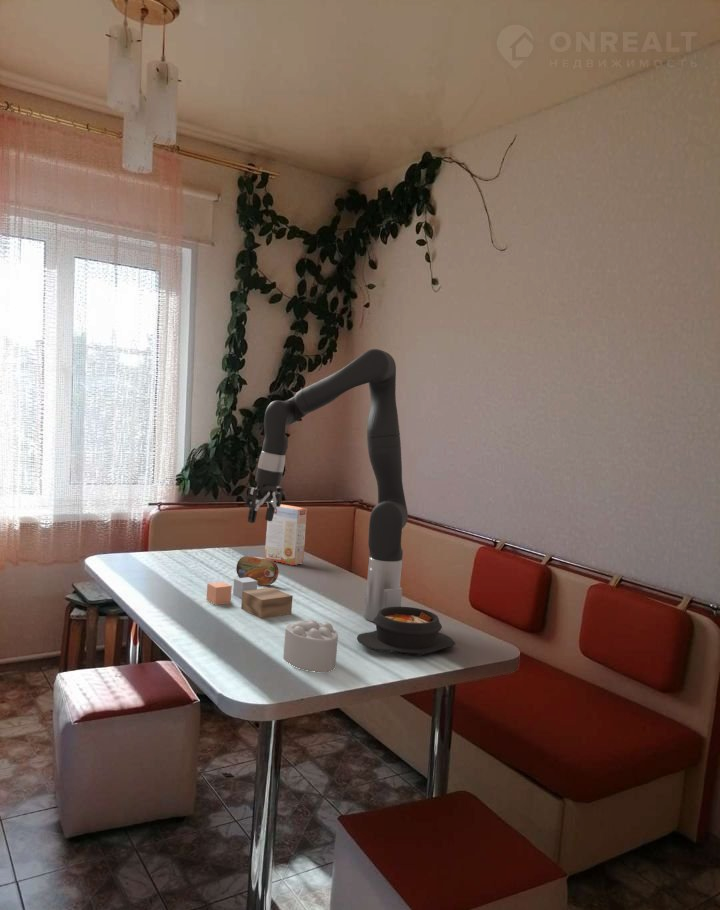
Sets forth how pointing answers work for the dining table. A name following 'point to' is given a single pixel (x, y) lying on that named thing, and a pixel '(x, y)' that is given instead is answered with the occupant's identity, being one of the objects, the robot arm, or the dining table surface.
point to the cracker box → (286, 535)
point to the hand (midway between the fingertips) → (260, 521)
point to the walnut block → (266, 602)
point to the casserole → (406, 632)
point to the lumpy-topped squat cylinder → (311, 646)
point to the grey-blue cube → (243, 586)
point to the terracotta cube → (219, 593)
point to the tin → (257, 569)
